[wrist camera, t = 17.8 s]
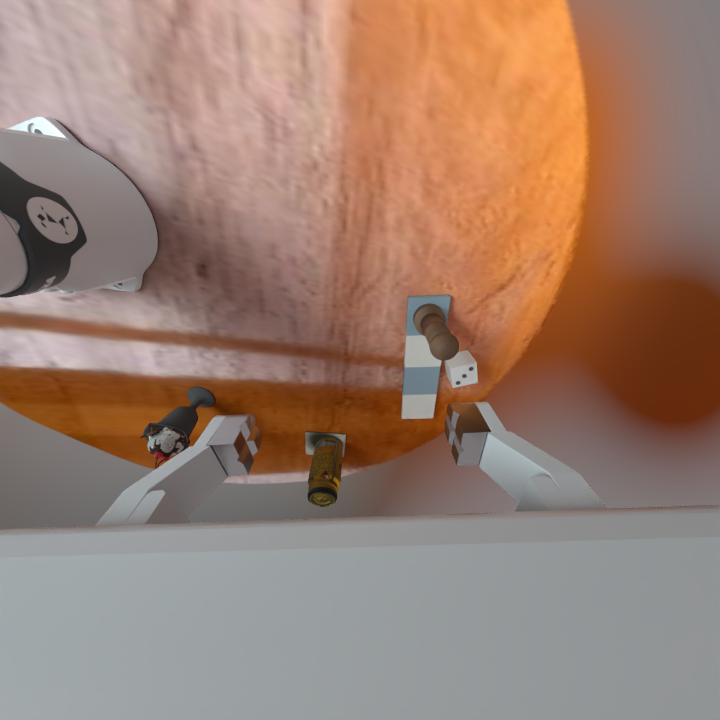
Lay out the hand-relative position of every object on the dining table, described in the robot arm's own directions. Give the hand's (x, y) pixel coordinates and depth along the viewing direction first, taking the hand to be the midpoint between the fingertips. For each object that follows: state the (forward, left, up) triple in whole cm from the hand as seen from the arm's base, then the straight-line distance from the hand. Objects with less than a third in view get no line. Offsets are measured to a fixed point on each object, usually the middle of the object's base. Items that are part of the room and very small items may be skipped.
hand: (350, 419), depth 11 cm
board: (+10, -16, -29) cm, 35 cm away
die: (+16, -16, -30) cm, 37 cm away
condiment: (-9, -36, -30) cm, 48 cm away
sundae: (-31, -22, -30) cm, 48 cm away
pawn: (+10, -7, -28) cm, 31 cm away
